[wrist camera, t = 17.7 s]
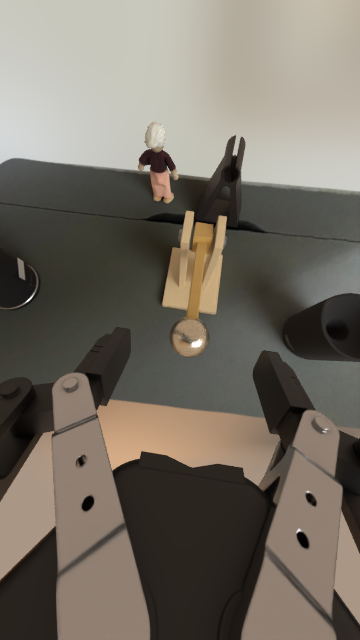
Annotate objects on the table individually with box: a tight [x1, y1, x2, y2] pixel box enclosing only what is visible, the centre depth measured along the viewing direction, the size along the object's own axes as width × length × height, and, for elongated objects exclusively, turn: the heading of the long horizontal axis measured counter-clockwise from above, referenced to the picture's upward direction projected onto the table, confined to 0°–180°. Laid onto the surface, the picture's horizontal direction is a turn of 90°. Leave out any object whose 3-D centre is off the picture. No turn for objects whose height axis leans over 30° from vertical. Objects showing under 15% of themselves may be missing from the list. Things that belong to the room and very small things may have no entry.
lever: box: [169, 222, 213, 357], centre depth 20 cm, size 17×4×4 cm, turn 170°
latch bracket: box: [162, 211, 227, 315], centre depth 29 cm, size 12×10×15 cm
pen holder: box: [283, 293, 360, 362], centre depth 30 cm, size 9×9×10 cm
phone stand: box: [196, 136, 245, 227], centre depth 34 cm, size 9×6×12 cm, turn 77°
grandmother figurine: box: [138, 122, 178, 203], centre depth 34 cm, size 8×4×13 cm, turn 87°
